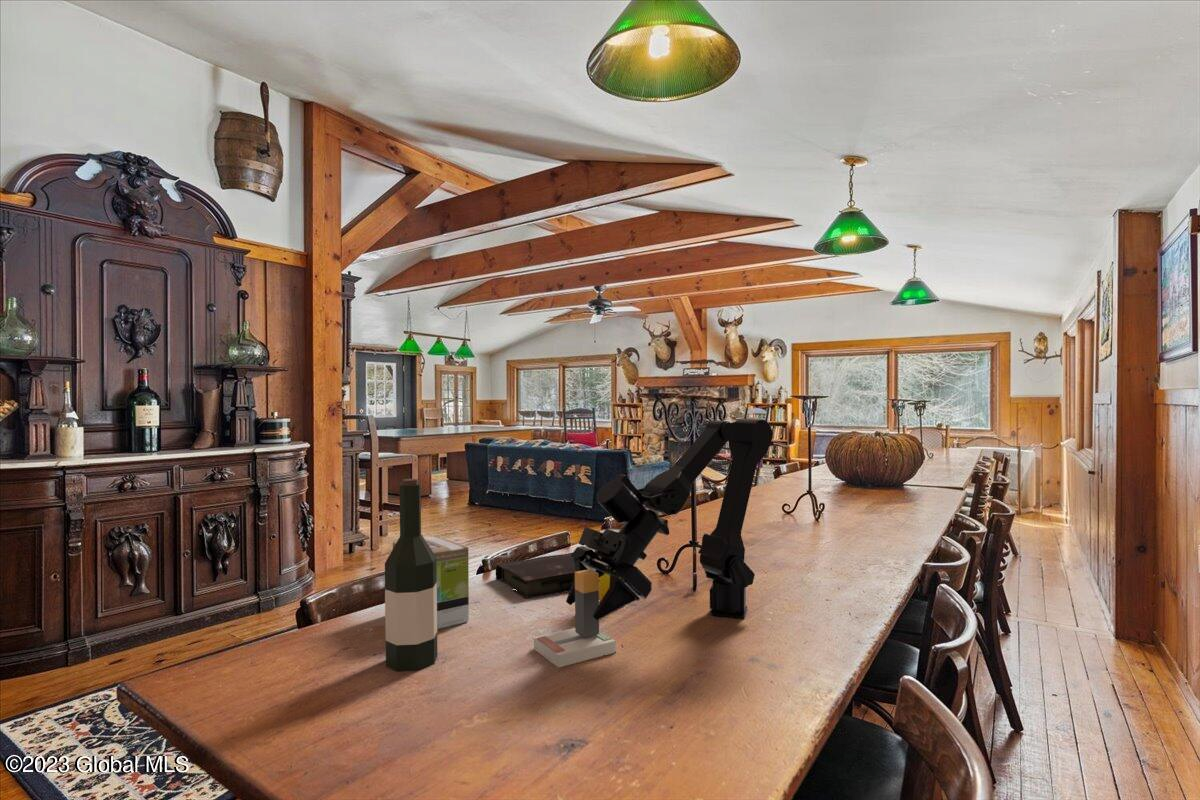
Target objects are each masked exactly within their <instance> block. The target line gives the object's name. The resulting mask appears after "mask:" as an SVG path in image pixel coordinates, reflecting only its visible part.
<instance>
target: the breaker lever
mask: <svg viewBox="0 0 1200 800" xmlns="http://www.w3.org/2000/svg"><path fill="white" fill-rule="evenodd" d="M599 603H600V600H599V573H597V572H595V571H592V570H590V569H588V570H582V571H577V572H575V602H574V617H575V618H574V621H575V623H574V626H575V627H574V628H575V632H576V633H577V634H579V635H581V636H582V637H584V638H585V637H589V636H593V635H597V634H599V631H600V619H599V620H596V619H595V618H594V617H593V614H594V612H595V610H596V608H597V607H598V605H599Z"/></svg>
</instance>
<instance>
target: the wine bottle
mask: <svg viewBox="0 0 1200 800" xmlns="http://www.w3.org/2000/svg"><path fill="white" fill-rule="evenodd" d="M418 481H419V479H418V478H404V479H402V480H401V482H402V483H401V484H399V488H398V489H399V538H398V539H397V541H396V542H397V543H396V544H395V546H394V548H393V547H392V550H391V551H390V553H389V555H388V557H387V559H386V561H385V562H384V603H385V604H384V608H385V611H384V615H385V619H384V621H385V622H384V623H385V626H384V627H385V667H387V668H389V669H391V670H394V671H395V672H412V671H417V672H418V671H420V670H422V669H424V668H428V667H430V666H432V665H435V663H436V660H437V659H438V629H437V570H436V556H435V554H434V553H433V551H432V550H431V548H430V547H429V545H428V544H427V542H426V541H425V539H424V536H423V535H422V496H421V495H422V494H421V491H422V490H421V489H422V488H421V486H422V485H421V483H419V482H418Z"/></svg>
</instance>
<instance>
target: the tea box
mask: <svg viewBox="0 0 1200 800" xmlns="http://www.w3.org/2000/svg"><path fill="white" fill-rule="evenodd" d="M423 538H424V539H425V541H426V542H427V544H428V545H429V547H430V548H431V550H432V551H433V553H434V554H435V556H436V570H437V630H441V629H445V628H449V627H452V626H458V625H461V624H464V623H468V622H469V618H470V617H469V615H470V605H469V604H470V603H469V601H470V599H469V598H470V597H469V596H470V595H469V594H470V592H469V591H470V590H469V589H470V587H469V582H470V579H469V576H470V574H469V573H470V571H469V569H470V568H469V566H470V565H469V558H470V555H469V547H468V546H466V545H464V544H460V543H457V542H455V541H452V540H450V539H446V538H443V537H440V536H437V535H434V536H433V535H432V536H425V537H424V536H423ZM396 543H397V541H393V542H392V549H393V548H394V546H395V544H396Z"/></svg>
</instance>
